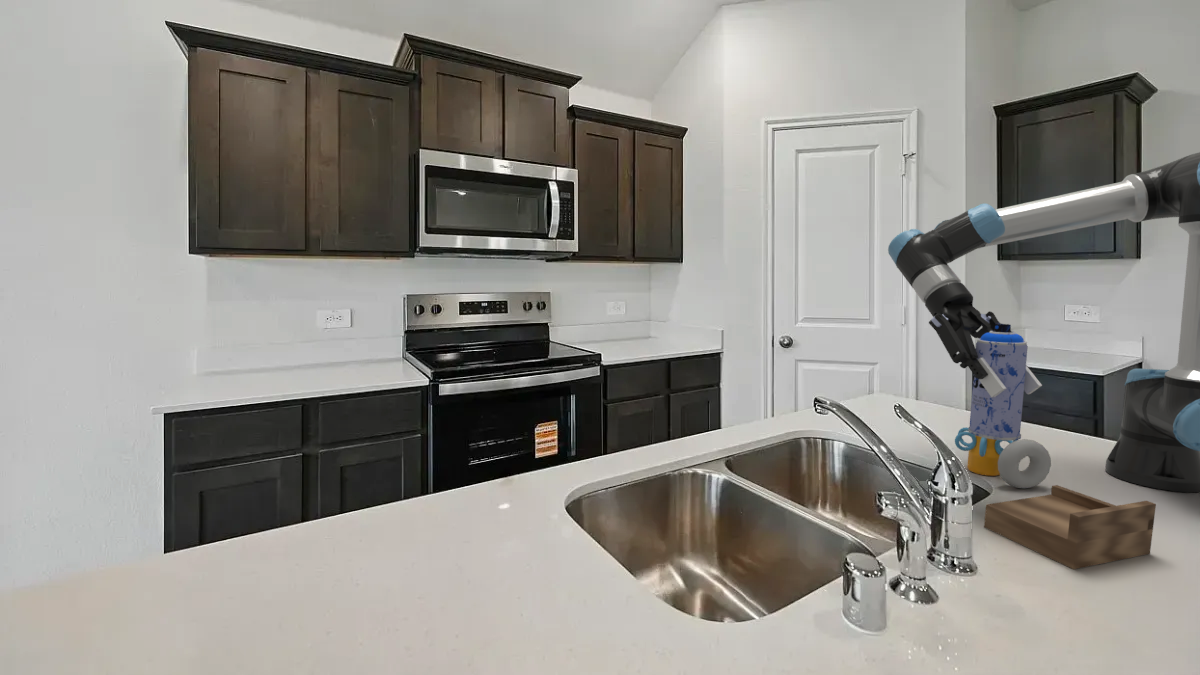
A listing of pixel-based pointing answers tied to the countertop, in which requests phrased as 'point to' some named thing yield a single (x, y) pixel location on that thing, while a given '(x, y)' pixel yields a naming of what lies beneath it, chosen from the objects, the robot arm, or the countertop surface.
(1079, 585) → the countertop surface
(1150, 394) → the robot arm
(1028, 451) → the donut
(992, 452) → the cylinder
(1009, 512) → the shelf step
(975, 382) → the aerosol can
